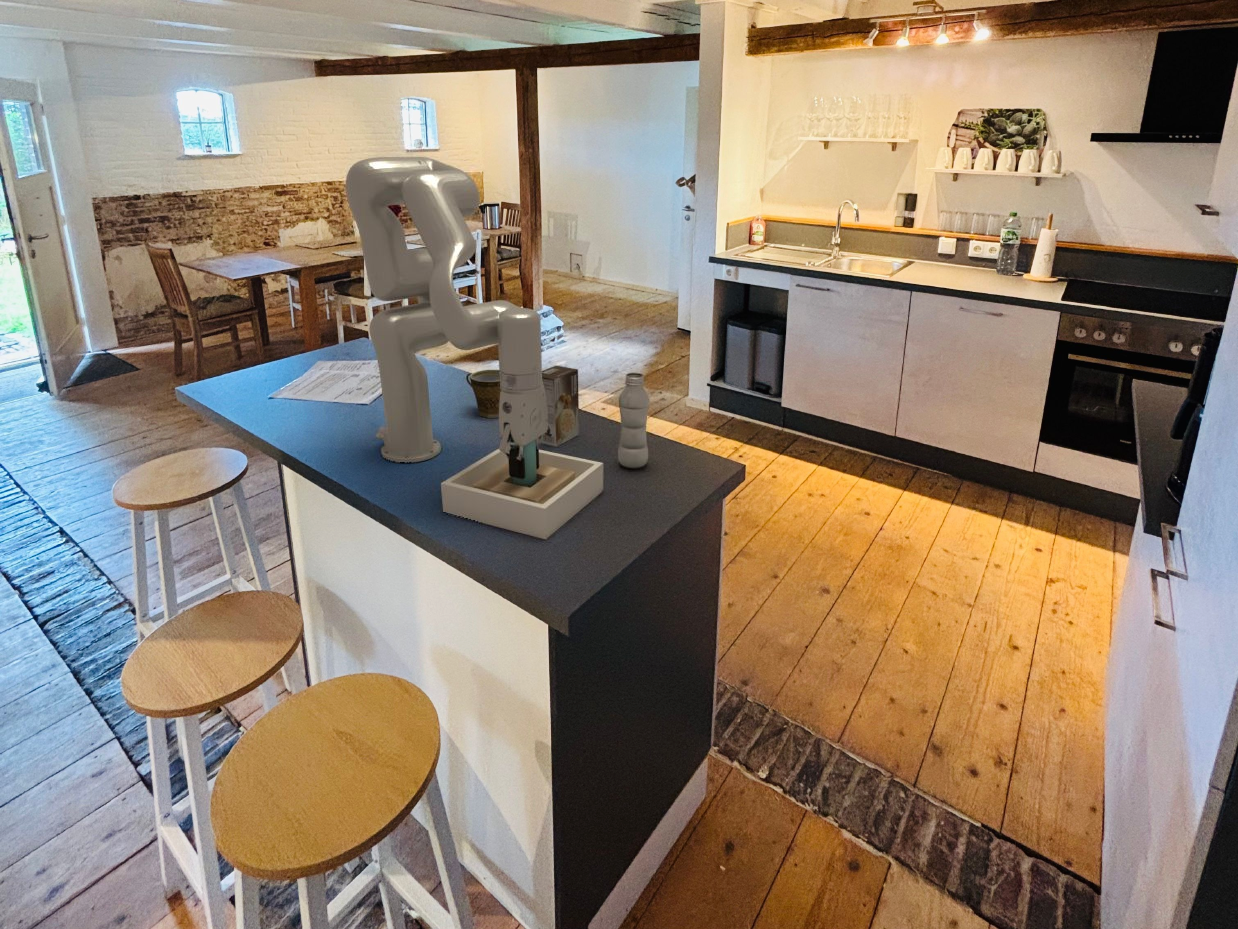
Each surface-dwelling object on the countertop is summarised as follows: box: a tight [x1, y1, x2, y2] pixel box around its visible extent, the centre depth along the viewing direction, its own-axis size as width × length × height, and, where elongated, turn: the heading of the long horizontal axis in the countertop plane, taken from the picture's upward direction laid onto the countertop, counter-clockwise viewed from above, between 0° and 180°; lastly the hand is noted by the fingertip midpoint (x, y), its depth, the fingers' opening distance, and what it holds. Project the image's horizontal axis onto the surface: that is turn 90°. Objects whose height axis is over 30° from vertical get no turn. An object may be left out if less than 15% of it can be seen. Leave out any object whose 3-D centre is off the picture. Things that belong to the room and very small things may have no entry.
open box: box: [440, 448, 604, 540], centre depth 145 cm, size 22×22×6 cm
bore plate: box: [472, 462, 575, 504], centre depth 145 cm, size 14×14×4 cm
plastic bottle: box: [617, 372, 651, 469], centre depth 158 cm, size 6×7×20 cm
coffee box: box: [540, 365, 580, 448], centre depth 173 cm, size 9×6×16 cm
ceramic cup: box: [465, 369, 502, 419], centre depth 189 cm, size 13×10×10 cm
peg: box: [513, 440, 537, 488], centre depth 142 cm, size 4×4×12 cm
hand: (524, 471), depth 143 cm, fingers closed on peg, 4 cm apart
